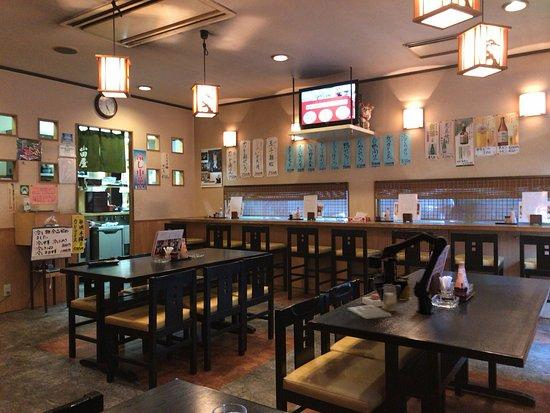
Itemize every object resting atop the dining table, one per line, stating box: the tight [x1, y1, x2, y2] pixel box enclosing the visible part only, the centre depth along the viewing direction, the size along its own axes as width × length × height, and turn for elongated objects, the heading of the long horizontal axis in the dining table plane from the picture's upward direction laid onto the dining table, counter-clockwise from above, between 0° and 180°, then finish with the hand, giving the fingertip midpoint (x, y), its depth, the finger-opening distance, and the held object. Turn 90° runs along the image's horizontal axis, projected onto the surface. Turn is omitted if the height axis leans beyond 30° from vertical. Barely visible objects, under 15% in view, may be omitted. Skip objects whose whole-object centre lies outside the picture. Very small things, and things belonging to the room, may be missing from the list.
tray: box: [347, 305, 392, 320], centre depth 216 cm, size 18×14×2 cm
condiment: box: [398, 275, 413, 301], centre depth 246 cm, size 7×8×12 cm
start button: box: [370, 293, 380, 300], centre depth 233 cm, size 5×5×3 cm
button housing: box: [362, 296, 383, 308], centre depth 233 cm, size 10×10×3 cm
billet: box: [382, 292, 397, 312], centre depth 222 cm, size 5×5×8 cm
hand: (389, 300), depth 222 cm, fingers open, 9 cm apart
